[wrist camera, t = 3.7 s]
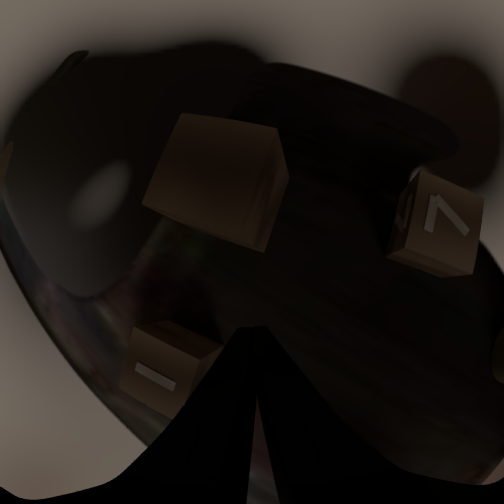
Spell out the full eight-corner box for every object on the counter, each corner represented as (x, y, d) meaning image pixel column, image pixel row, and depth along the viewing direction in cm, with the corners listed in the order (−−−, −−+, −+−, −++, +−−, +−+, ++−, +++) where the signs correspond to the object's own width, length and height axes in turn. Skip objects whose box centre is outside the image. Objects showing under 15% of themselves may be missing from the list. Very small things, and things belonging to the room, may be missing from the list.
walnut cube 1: (205, 398, 21) (178, 423, 16) (152, 371, 22) (116, 387, 17) (224, 345, 21) (199, 360, 16) (167, 319, 22) (131, 325, 17)
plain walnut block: (263, 252, 21) (237, 234, 14) (192, 229, 23) (141, 203, 15) (289, 178, 22) (277, 128, 14) (219, 160, 23) (181, 112, 16)
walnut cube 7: (440, 277, 18) (473, 273, 13) (382, 256, 19) (403, 246, 15) (453, 216, 19) (484, 198, 14) (398, 194, 20) (419, 168, 15)
